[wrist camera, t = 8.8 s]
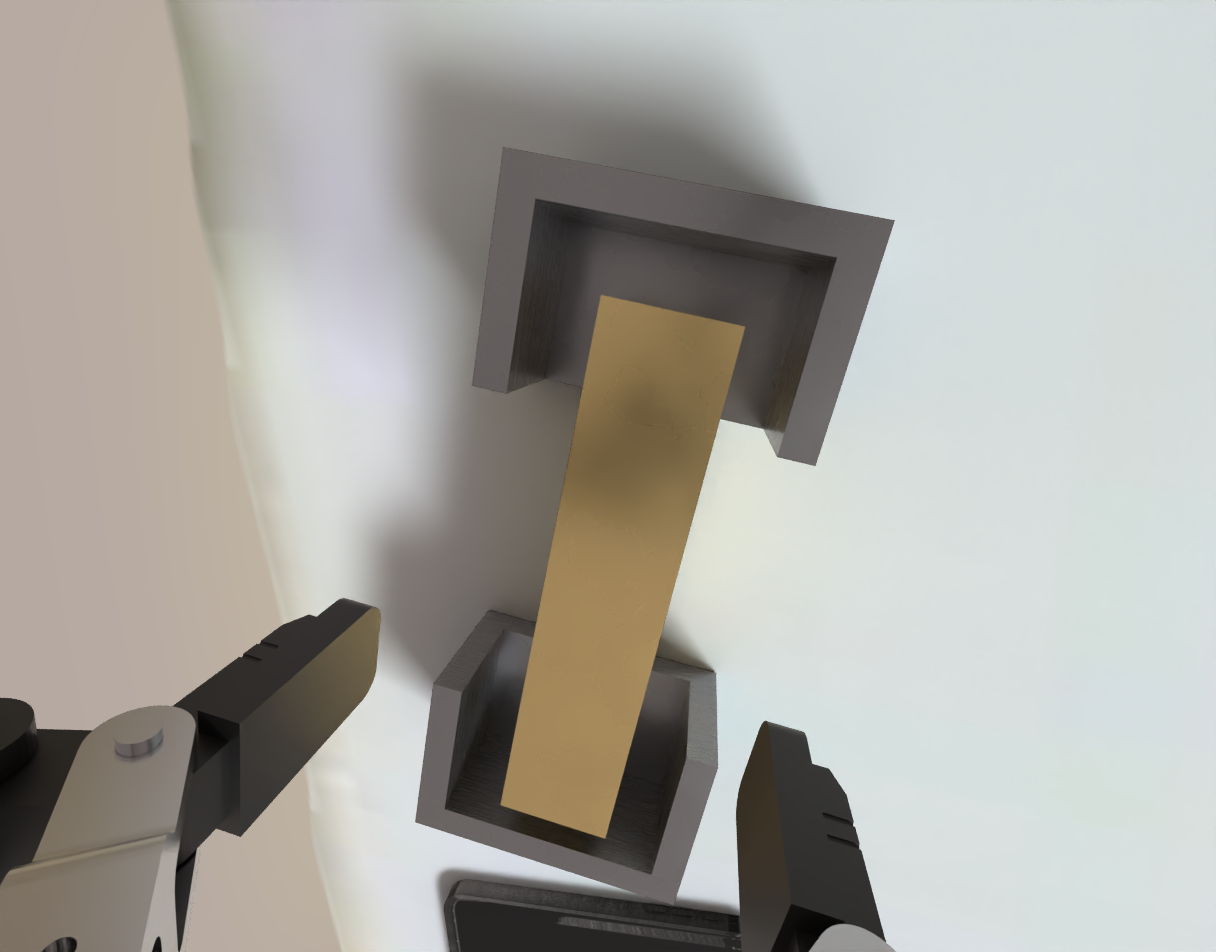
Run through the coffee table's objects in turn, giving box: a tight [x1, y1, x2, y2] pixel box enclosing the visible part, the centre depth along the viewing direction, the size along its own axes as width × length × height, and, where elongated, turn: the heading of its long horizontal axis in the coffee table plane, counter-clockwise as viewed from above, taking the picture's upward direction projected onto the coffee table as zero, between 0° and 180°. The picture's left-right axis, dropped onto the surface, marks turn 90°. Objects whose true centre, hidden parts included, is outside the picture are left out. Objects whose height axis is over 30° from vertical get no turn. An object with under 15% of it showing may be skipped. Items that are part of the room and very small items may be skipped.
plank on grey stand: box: [415, 147, 895, 905], centre depth 19 cm, size 22×10×5 cm, turn 169°
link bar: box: [501, 295, 745, 839], centre depth 18 cm, size 16×4×5 cm, turn 168°
